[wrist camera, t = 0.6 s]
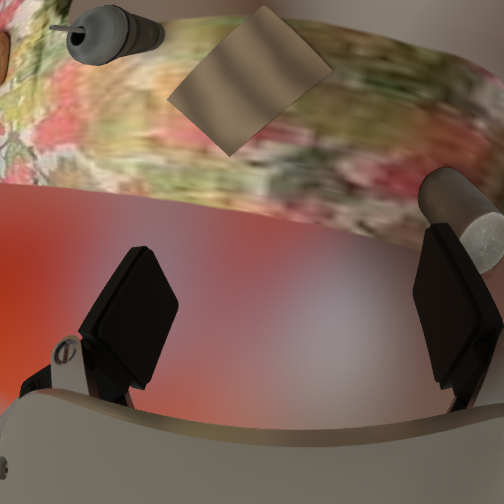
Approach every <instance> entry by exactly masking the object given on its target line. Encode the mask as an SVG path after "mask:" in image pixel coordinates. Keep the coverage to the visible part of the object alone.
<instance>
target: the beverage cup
mask: <svg viewBox="0 0 504 504" xmlns="http://www.w3.org/2000/svg"><path fill="white" fill-rule="evenodd" d="M49 30H57V31H68V35H67V39H66V43H67V49H68V52H69V54H70V55H71V56H72V57H73V58H74V59H75V60H76V61H78V62H80V63H82V64H87V65H95V66H100V65H104V64H107V63H109V62H111V61H113V60H115V59H117V58H119V57H124V56H128V55H133V54H137V53H142V52H147V51H151V50H154V49H156V48H158V47H159V46H160V45H161V43H162V42H163V40H164V37H165V31H164V28H163V27H162V26H161V25H160V24H158V23H156V22H154V21H152V20H148V19H146V18H143V17H140V16H137V15H134V14H131V13H129V12H127V11H125V10H123V9H122V8H120V7H118V6H115V5H105V6H100V7H96V8H93V9H91V10H89V11H86V12H85V13H83V14H82V15H81V16H80V17H78V18H77V19H76V20H75V22H74V23H73V24H72V26H71V27H69V26H60V25H50V27H49Z"/></svg>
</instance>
